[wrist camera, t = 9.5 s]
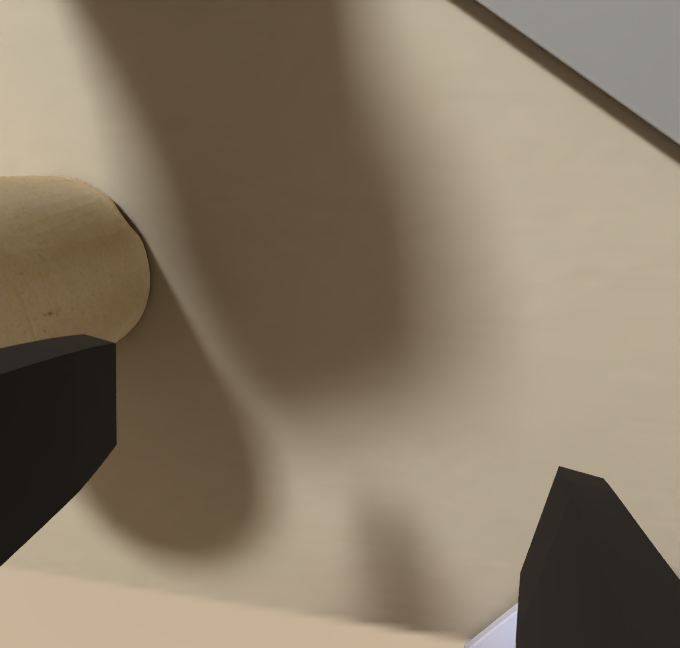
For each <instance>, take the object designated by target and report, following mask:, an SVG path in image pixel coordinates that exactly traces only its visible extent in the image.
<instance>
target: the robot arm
mask: <svg viewBox="0 0 680 648" xmlns="http://www.w3.org/2000/svg"><path fill="white" fill-rule="evenodd" d="M116 445H117V440H116V343H114V342H111V341H107V340H103V339H100V338H96V337H93V336H89V335H85V334H80V335H70V336H62V337H56V338H49V339H44V340H38V341H33V342H28V343H23V344H18V345H13V346H8V347H3V348H0V566H1V565H2V564H3V563H4V562H6V561H7V560H8V559H9V558H10V557H11V556H12V555H13V554H14V553H15V552H16V551H17V550H18V549H19V548H20V547H22V546H23V545H24V544H25V543H26V542H27V541H28V540H29V539H30V538H31V537H32V536H33V535H34V534H35V533H36V532H38V531H39V530H40V529H41V528H42V527H43V526H44V525H45V524H46V523H47V522H48V521H49V520H50V519H51V518H52V517H53V516H54V515H55V514H56V513H57V512H59V511H60V510H61V509H62V508H63V507H64V506H65V505H66V504H67V503H68V502H69V501H70V500H71V499H72V498H73V497H74V496H75V495H76V494H77V493H78V492H79V491H80V490H81V489H82V487H83V486H84V485H85V484H86V483H87V481H88V480H89V479H90V478H91V477H92V475H93V474H94V473H95V472H96V471H97V469H98V468H99V467H100V466H101V464H102V463H103V462H104V460H105V459H106V458H107V456H108V455H109V454H110V453H111V451H112V450H113V449H114V447H115V446H116ZM464 648H680V579H679V578H678V577H677V576H676V574H675V573H674V572H673V570H672V569H671V568H670V566H669V565H668V564H667V562H666V561H665V560H664V558H663V557H662V556H661V555H660V553H659V552H658V551H657V549H656V548H655V547H654V545H653V544H652V542H651V541H650V540H649V538H648V537H647V536H646V534H645V533H644V532H643V530H642V529H641V528H640V526H639V525H638V523H637V522H636V521H635V519H634V518H633V517H632V515H631V514H630V513H629V511H628V510H627V508H626V507H625V506H624V504H623V503H622V502H621V500H620V499H619V498H618V496H617V495H616V494H615V492H614V491H613V490H612V488H611V487H610V486H609V485H608V483H607V482H606V481H605V480H604V479H603V478H600V477H596V476H593V475H589V474H585V473H582V472H578V471H575V470H571V469H568V468H564V467H560V466H559V468H558V471H557V473H556V476H555V479H554V482H553V484H552V487H551V490H550V493H549V495H548V498H547V501H546V504H545V506H544V509H543V512H542V515H541V517H540V520H539V523H538V526H537V528H536V531H535V534H534V537H533V539H532V542H531V545H530V548H529V550H528V553H527V556H526V559H525V561H524V564H523V567H522V570H521V572H520V585H519V597H518V603H517V604H515V605H514V606H513V607H512V608H510V609H509V610H508V611H507V612H505V613H504V614H503V615H502V616H500V617H499V618H498V619H497V620H495V621H494V622H493V623H492V624H490V625H489V626H488V627H487V628H485V629H484V630H483V631H482V632H480V633H479V634H478V635H476V636H475V637H474V638H473V639H471V640H470V641H469V642H468V643H466V645H465V646H464Z"/></svg>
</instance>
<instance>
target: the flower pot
mask: <svg viewBox="0 0 680 648" xmlns="http://www.w3.org/2000/svg"><path fill="white" fill-rule="evenodd" d="M149 290H150V271H149V264H148V259H147V254H146V251H145V248H144V245H143V242H142V240H141V238H140V237H139V236H138V234H137V233H136V232H135V231H134V230H133V229H132V228H131V227H130V225H129V224H128V223H127V221H126V220H125V219H124V217H123V216H122V214H121V213H120V211H119V210H118V208H117V207H116V205H115V203H114V202H113V200H112V199H110V198H109V197H108V196H107V195H106V194H104V193H103V192H102V191H100V190H99V189H97V188H95V187H93V186H92V185H90V184H88V183H85V182H83V181H81V180H78V179H75V178H71V177H66V176H59V175H47V176H11V177H0V348H3V347H8V346H13V345H18V344H23V343H28V342H33V341H38V340H44V339H49V338H56V337H62V336H70V335H80V334H85V335H89V336H93V337H96V338H100V339H103V340H107V341H111V342H114V343H117V342H118V341H119V340H120V339H122V338H123V337H124V336H125V335H127V334H128V333H129V332H130V330H131V329H132V328H133V327H134V326H135V325H136V324H137V322H138V321H139V319H140V318H141V316H142V314H143V312H144V310H145V307H146V304H147V301H148V297H149Z"/></svg>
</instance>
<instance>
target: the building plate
mask: <svg viewBox="0 0 680 648" xmlns="http://www.w3.org/2000/svg"><path fill="white" fill-rule="evenodd" d="M475 1H476V2H477V3H479V4H480V5H482V6H483V7H485V8H486V9H487V10H489V11H490V12H492V13H493V14H494V15H496V16H497V17H499V18H500V19H501V20H503V21H504V22H506V23H507V24H509V25H510V26H511V27H513V28H514V29H516V30H517V31H518V32H520V33H521V34H523V35H524V36H525V37H527V38H528V39H530V40H531V41H532V42H534V43H535V44H537V45H538V46H540V47H541V48H542V49H544V50H545V51H547V52H548V53H549V54H551V55H552V56H554V57H555V58H556V59H558V60H559V61H561V62H562V63H564V64H565V65H566V66H568V67H569V68H571V69H572V70H573V71H575V72H576V73H578V74H579V75H580V76H582V77H583V78H585V79H586V80H587V81H589V82H590V83H592V84H593V85H595V86H596V87H597V88H599V89H600V90H602V91H603V92H604V93H606V94H607V95H609V96H610V97H611V98H613V99H614V100H616V101H617V102H619V103H620V104H621V105H623V106H624V107H626V108H627V109H628V110H630V111H631V112H633V113H634V114H635V115H637V116H638V117H640V118H641V119H642V120H644V121H645V122H647V123H648V124H650V125H651V126H652V127H654V128H655V129H657V130H658V131H659V132H661V133H662V134H664V135H665V136H666V137H668V138H669V139H671V140H672V141H674V142H675V143H676V144H678V145H679V146H680V0H475Z"/></svg>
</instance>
